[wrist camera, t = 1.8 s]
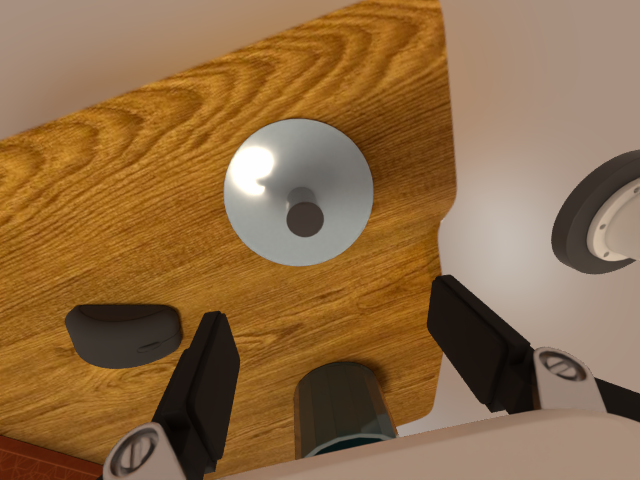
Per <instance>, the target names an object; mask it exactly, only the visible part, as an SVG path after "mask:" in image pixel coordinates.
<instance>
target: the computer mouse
mask: <svg viewBox="0 0 640 480" xmlns="http://www.w3.org/2000/svg"><path fill="white" fill-rule="evenodd" d="M65 325H66V328H67V330H68V333H69V335H70V338H71V340H72V342H73V345H74V347H75V350H76V352H77V353H78V355H79V356H80V357H81V358H82V359H83V360H85V361H86V362H88V363H90V364H92V365H95V366H98V367H102V368H109V369H123V368H132V367H137V366H141V365H145V364H148V363H151V362H154V361H156V360H159V359H161V358H163V357H165V356H167V355H169V354H171V353H172V352H174V351H175V350H176V349H177V348H178V347H179V345H180V343H181V334H180V328H179V322H178V316H177V313H176V312H175V311H174V310H173V309H172V308H170V307H167V306H161V305H83V306H82V305H80V306H76V307H75V308H73V309H72V310H71V311H70V312H69V313H68V314H67V316H66V318H65Z"/></svg>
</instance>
